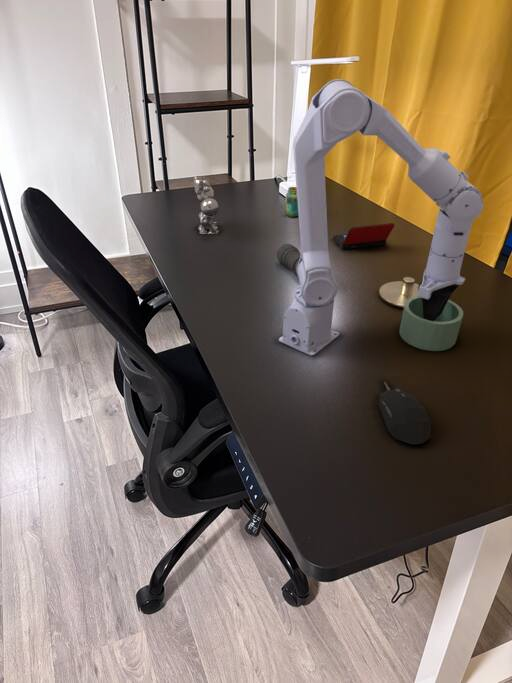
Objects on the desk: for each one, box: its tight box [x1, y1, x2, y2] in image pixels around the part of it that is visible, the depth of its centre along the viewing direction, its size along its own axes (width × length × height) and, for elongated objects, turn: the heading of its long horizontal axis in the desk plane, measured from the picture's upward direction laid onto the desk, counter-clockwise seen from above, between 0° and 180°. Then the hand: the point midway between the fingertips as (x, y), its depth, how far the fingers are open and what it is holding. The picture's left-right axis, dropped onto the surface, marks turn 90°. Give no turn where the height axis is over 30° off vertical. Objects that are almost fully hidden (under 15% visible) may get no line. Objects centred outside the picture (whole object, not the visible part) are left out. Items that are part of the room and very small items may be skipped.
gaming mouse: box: [377, 381, 432, 445], centre depth 78 cm, size 6×15×4 cm, turn 6°
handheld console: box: [332, 222, 395, 250], centre depth 132 cm, size 12×11×7 cm
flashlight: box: [276, 243, 300, 279], centre depth 118 cm, size 15×5×5 cm, turn 25°
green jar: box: [284, 186, 299, 218], centre depth 149 cm, size 5×5×8 cm
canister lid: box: [378, 276, 420, 309], centre depth 109 cm, size 12×12×4 cm
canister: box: [399, 296, 464, 352], centre depth 96 cm, size 11×11×6 cm
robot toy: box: [193, 175, 220, 235], centre depth 136 cm, size 15×6×15 cm, turn 12°
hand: (431, 317), depth 95 cm, fingers closed
